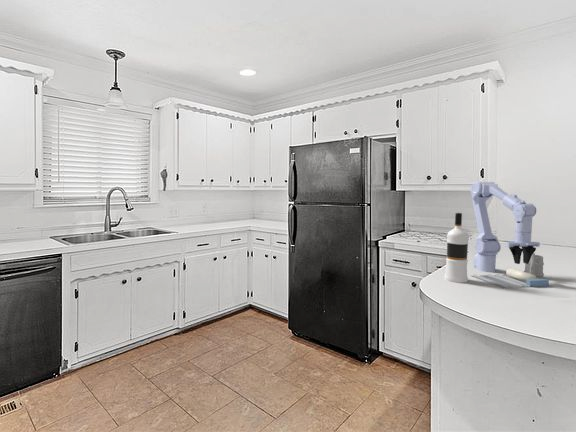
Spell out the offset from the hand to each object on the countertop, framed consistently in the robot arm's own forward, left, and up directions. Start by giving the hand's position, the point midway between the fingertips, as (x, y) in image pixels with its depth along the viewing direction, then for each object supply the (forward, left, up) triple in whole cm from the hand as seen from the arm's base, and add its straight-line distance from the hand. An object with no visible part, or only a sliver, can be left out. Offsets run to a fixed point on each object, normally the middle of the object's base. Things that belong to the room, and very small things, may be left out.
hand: (521, 263), depth 149 cm
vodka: (-4, -28, -9) cm, 29 cm away
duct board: (0, -6, -8) cm, 10 cm away
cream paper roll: (0, 0, -7) cm, 7 cm away
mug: (-7, +12, -9) cm, 17 cm away
